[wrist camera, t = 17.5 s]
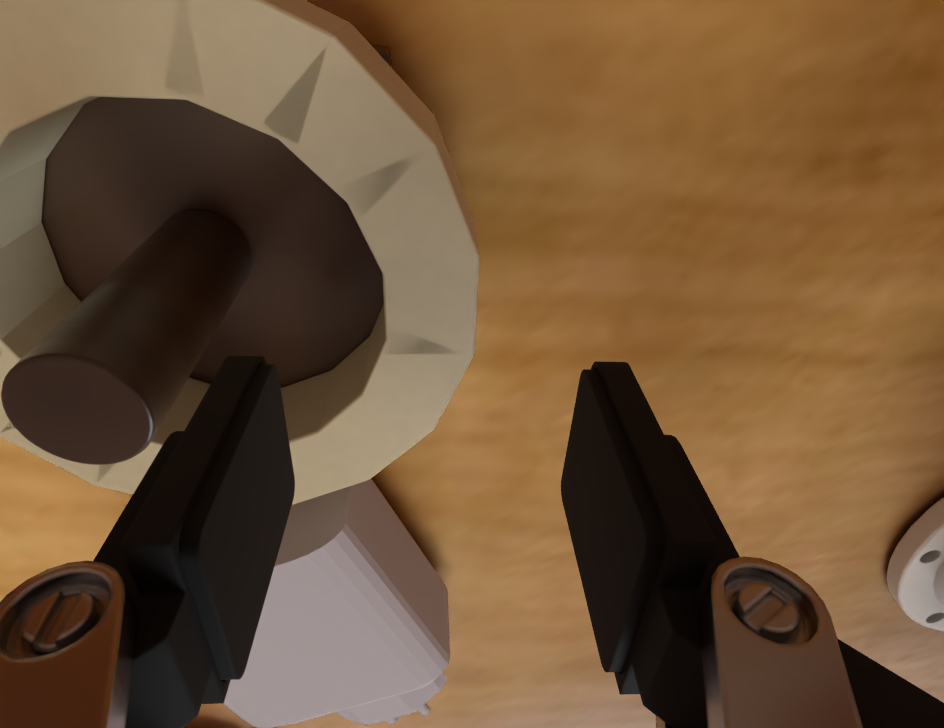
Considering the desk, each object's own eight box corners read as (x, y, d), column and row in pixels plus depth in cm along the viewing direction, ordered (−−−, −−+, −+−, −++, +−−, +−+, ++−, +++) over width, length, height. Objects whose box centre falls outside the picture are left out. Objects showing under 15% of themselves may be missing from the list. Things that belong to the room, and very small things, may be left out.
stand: (391, 45, 15) (360, 112, 8) (398, 374, 20) (384, 589, 13) (-36, 24, 14) (-519, 76, 7) (94, 373, 19) (-96, 602, 12)
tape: (481, -25, 13) (494, -25, 10) (461, 438, 20) (466, 504, 17) (-178, -59, 12) (-342, -68, 9) (55, 442, 19) (-1, 514, 16)
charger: (331, 688, 31) (145, 513, 23) (493, 643, 30) (356, 439, 22) (318, 792, 27) (88, 624, 19) (504, 745, 26) (341, 543, 18)
